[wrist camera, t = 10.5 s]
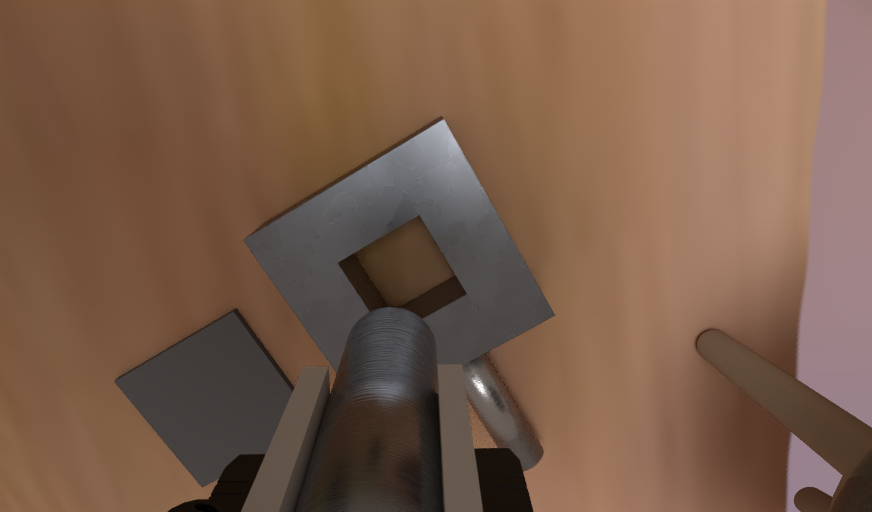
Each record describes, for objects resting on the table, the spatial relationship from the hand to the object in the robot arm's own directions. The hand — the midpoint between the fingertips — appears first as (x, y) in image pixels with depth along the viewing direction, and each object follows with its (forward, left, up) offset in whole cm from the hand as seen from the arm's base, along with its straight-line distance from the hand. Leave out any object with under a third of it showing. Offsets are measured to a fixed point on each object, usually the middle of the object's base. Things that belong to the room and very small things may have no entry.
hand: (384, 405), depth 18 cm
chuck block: (+5, 0, -17) cm, 18 cm away
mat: (+2, -15, -17) cm, 23 cm away
